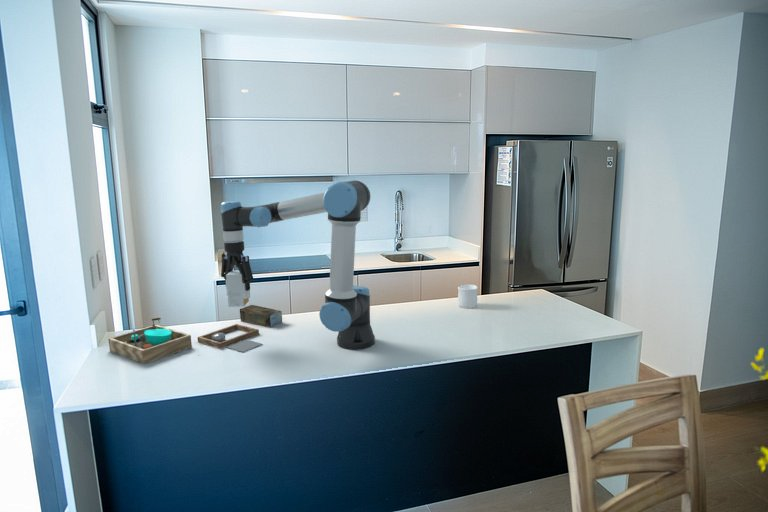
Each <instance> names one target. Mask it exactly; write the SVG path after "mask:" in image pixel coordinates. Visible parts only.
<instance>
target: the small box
mask: <svg viewBox="0 0 768 512" xmlns="http://www.w3.org/2000/svg"><path fill="white" fill-rule="evenodd" d="M226 281H227V290H226V293H227V292H228V296H227V304H228V307H229V308H236V307H238V308H239V307H246V304H247V303H248V302H249V301H250V298H247V299H244V298H243V285H242V282H244V281H243V279H242V274H240V272H239V269H237V270H233V271H231V272H229V273H228V274H227V275H226Z"/></svg>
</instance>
